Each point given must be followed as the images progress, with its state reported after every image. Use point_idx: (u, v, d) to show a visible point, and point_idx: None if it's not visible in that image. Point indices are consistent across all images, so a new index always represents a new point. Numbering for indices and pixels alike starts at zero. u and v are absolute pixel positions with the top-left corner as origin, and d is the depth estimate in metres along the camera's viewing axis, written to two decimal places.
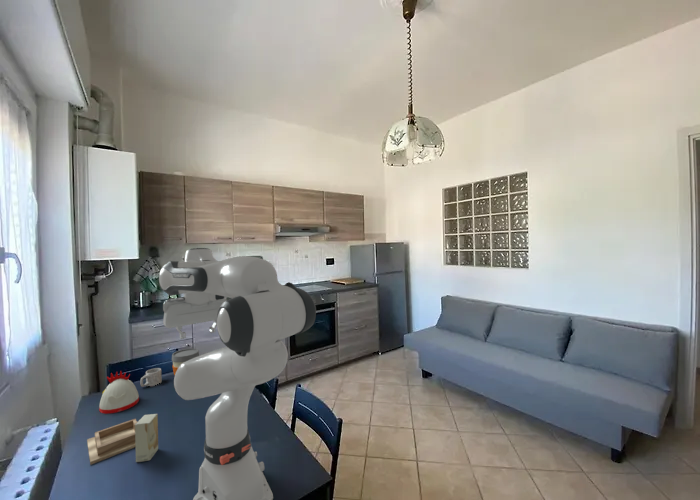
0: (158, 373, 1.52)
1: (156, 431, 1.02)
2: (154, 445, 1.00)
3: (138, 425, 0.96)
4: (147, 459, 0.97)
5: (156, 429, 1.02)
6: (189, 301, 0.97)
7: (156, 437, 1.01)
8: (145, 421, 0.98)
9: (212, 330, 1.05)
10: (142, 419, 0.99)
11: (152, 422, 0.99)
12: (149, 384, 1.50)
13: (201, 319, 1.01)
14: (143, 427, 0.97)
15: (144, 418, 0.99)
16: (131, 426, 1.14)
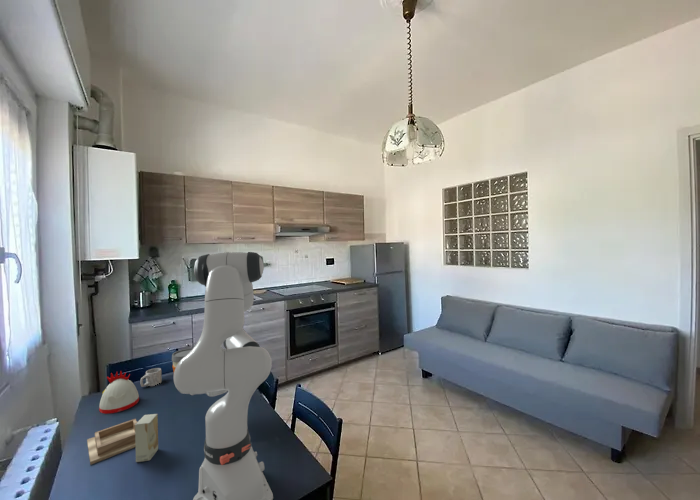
0: (158, 373, 1.52)
1: (156, 431, 1.02)
2: (154, 445, 1.00)
3: (138, 425, 0.96)
4: (147, 459, 0.97)
5: (156, 429, 1.02)
6: None
7: (156, 437, 1.01)
8: (145, 421, 0.98)
9: None
10: (142, 419, 0.99)
11: (152, 422, 0.99)
12: (149, 384, 1.50)
13: None
14: (143, 427, 0.97)
15: (144, 418, 0.99)
16: (131, 426, 1.14)
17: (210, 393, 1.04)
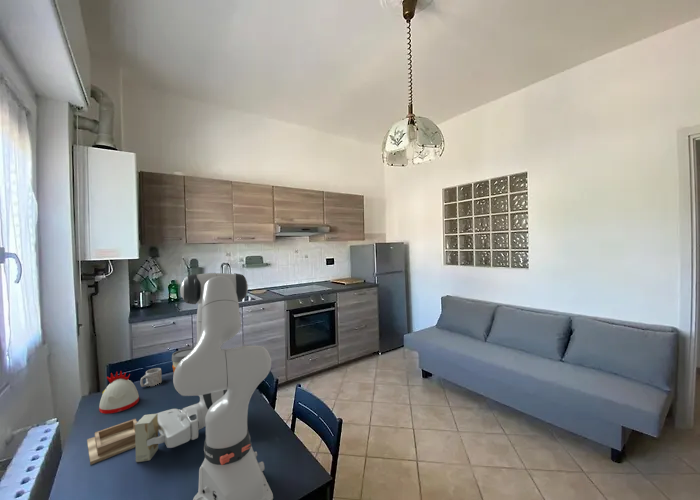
0: (158, 373, 1.52)
1: (156, 431, 1.02)
2: (154, 445, 1.00)
3: (138, 425, 0.96)
4: (147, 459, 0.97)
5: (156, 429, 1.02)
6: None
7: None
8: (145, 421, 0.98)
9: (149, 438, 0.97)
10: (142, 419, 0.99)
11: (152, 422, 0.99)
12: (149, 384, 1.50)
13: (164, 424, 1.03)
14: (143, 427, 0.97)
15: (144, 418, 0.99)
16: (131, 426, 1.14)
17: (169, 444, 0.95)
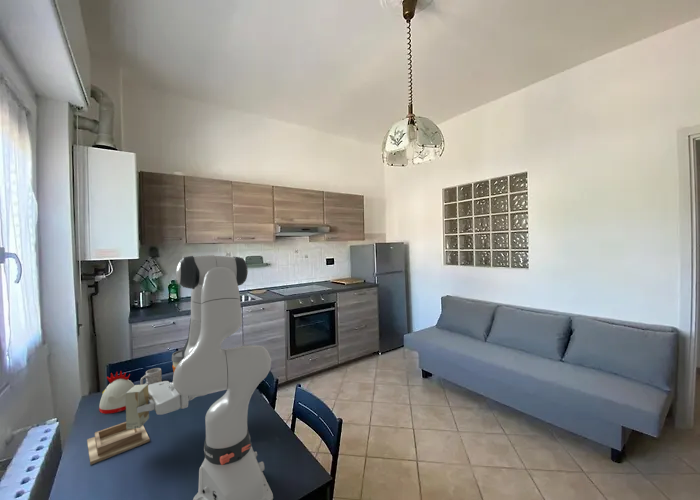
0: (158, 373, 1.52)
1: (147, 401, 1.04)
2: (145, 414, 1.02)
3: (129, 394, 0.98)
4: (137, 427, 0.99)
5: (147, 399, 1.04)
6: None
7: None
8: (136, 390, 1.00)
9: (140, 405, 0.99)
10: (133, 388, 1.01)
11: (142, 391, 1.01)
12: (149, 384, 1.50)
13: (154, 393, 1.05)
14: (133, 395, 0.99)
15: (135, 388, 1.02)
16: None
17: (158, 411, 0.97)
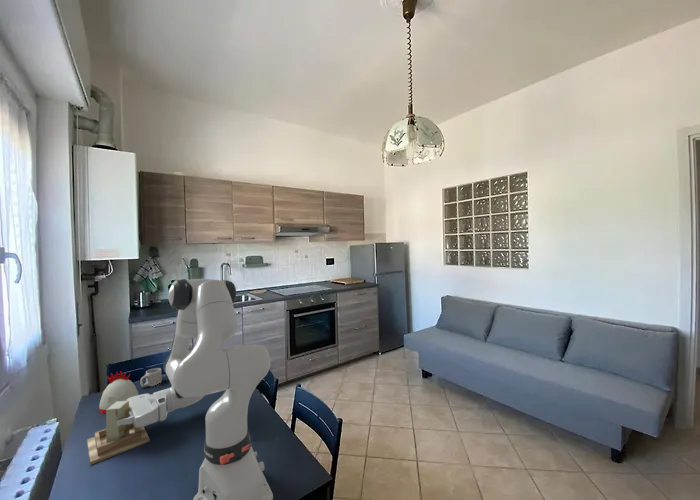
0: (158, 373, 1.52)
1: (127, 417, 1.09)
2: (125, 429, 1.07)
3: (109, 410, 1.04)
4: None
5: (127, 415, 1.09)
6: None
7: None
8: (116, 407, 1.05)
9: (119, 419, 1.04)
10: (113, 405, 1.06)
11: (123, 408, 1.06)
12: (149, 384, 1.50)
13: (134, 406, 1.10)
14: (113, 412, 1.04)
15: (115, 404, 1.07)
16: (131, 426, 1.14)
17: (136, 424, 1.03)
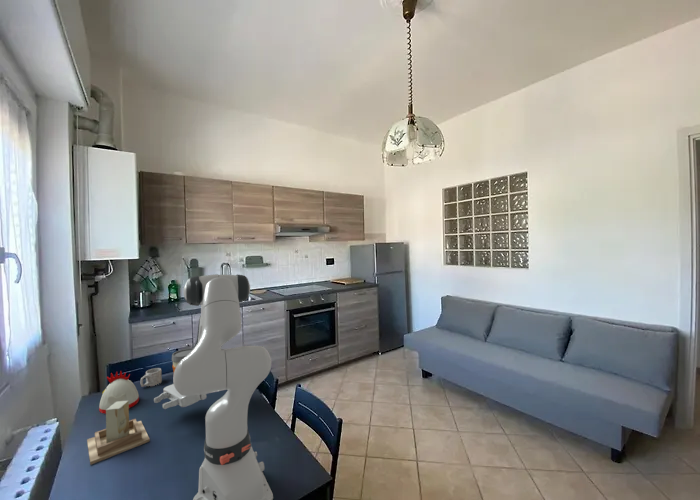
0: (158, 373, 1.52)
1: (127, 417, 1.09)
2: (124, 429, 1.07)
3: (109, 410, 1.04)
4: None
5: (127, 415, 1.09)
6: None
7: (127, 422, 1.09)
8: (116, 407, 1.05)
9: (165, 403, 1.12)
10: (113, 405, 1.06)
11: (122, 408, 1.06)
12: (149, 384, 1.50)
13: (174, 391, 1.18)
14: (113, 412, 1.04)
15: (115, 404, 1.07)
16: (131, 426, 1.14)
17: (183, 404, 1.11)
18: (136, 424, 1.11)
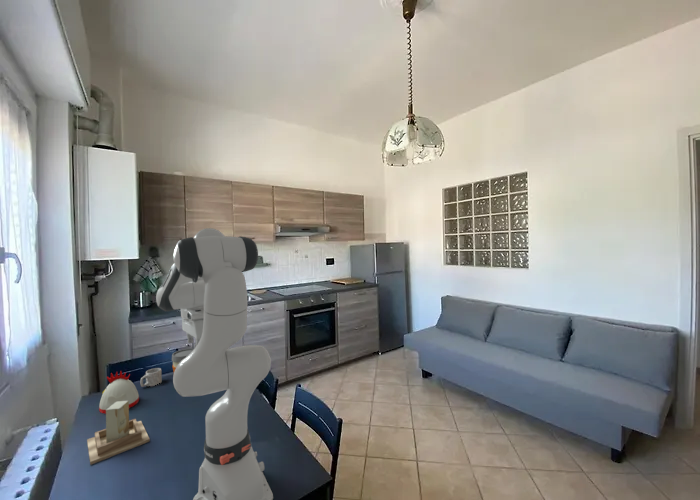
0: (158, 373, 1.52)
1: (127, 417, 1.09)
2: (124, 429, 1.07)
3: (109, 410, 1.04)
4: None
5: (127, 415, 1.09)
6: None
7: (127, 422, 1.09)
8: (116, 407, 1.05)
9: (195, 346, 1.18)
10: (113, 405, 1.06)
11: (122, 408, 1.06)
12: (149, 384, 1.50)
13: (189, 332, 1.20)
14: (113, 412, 1.04)
15: (115, 404, 1.07)
16: (131, 426, 1.14)
17: None
18: (136, 424, 1.11)
